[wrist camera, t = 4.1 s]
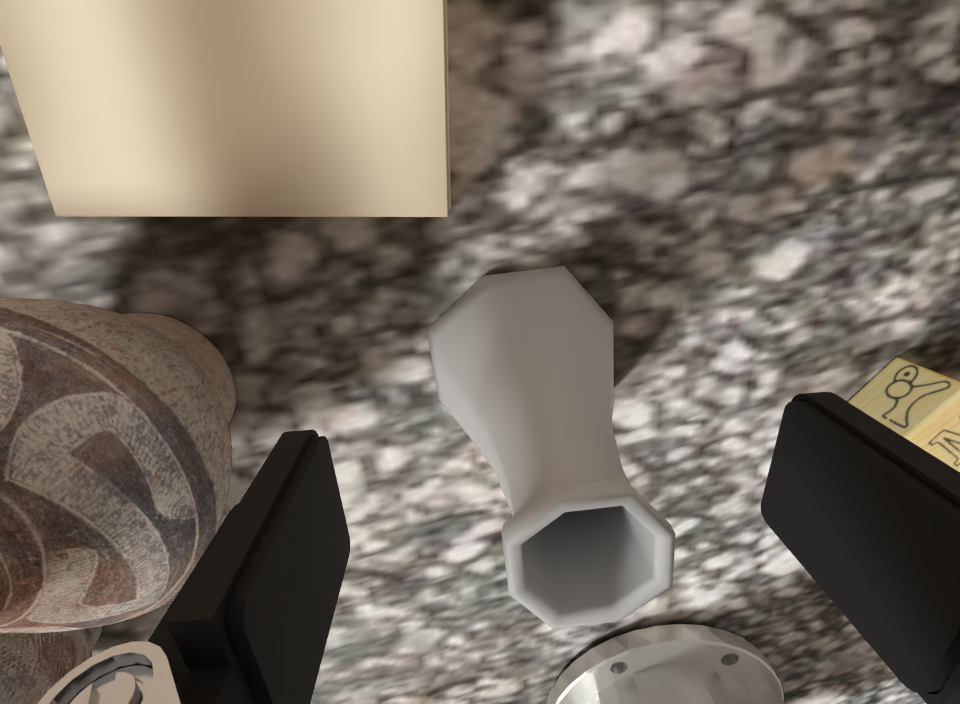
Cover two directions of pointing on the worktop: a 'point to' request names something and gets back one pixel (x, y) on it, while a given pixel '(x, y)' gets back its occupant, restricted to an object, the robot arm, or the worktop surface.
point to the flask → (552, 445)
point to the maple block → (235, 105)
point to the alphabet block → (916, 407)
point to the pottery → (100, 476)
